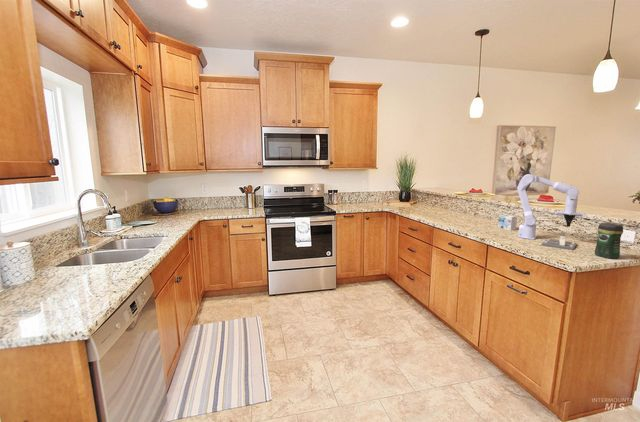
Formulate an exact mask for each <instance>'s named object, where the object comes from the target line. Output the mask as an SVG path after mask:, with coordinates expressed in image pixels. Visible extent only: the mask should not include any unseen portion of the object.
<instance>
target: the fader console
mask: <svg viewBox="0 0 640 422" xmlns="http://www.w3.org/2000/svg"><path fill="white" fill-rule="evenodd" d="M559 241H560V239H554V238H553V239H552V238H547V239H545V240H544V241H543V242H542V243H541V246H544V247H550V248H555V249H556V248H557V249H562V250H568V251H569V250H570V251H574V249H575V248H576V246H577V245H578V243H577V242H575V241H574V242H573V241H567V240H566V243H565V246H564V245H560V242H559Z"/></svg>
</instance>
